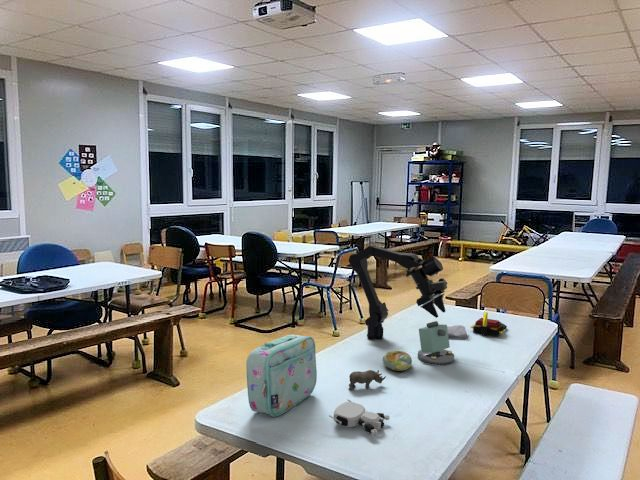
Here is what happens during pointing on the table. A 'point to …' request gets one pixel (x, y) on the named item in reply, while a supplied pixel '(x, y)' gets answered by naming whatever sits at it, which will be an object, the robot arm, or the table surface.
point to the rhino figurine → (364, 378)
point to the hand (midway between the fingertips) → (441, 314)
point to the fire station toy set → (488, 326)
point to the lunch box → (281, 374)
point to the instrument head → (434, 337)
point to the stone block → (457, 332)
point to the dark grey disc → (436, 357)
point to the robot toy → (358, 417)
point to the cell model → (397, 360)
